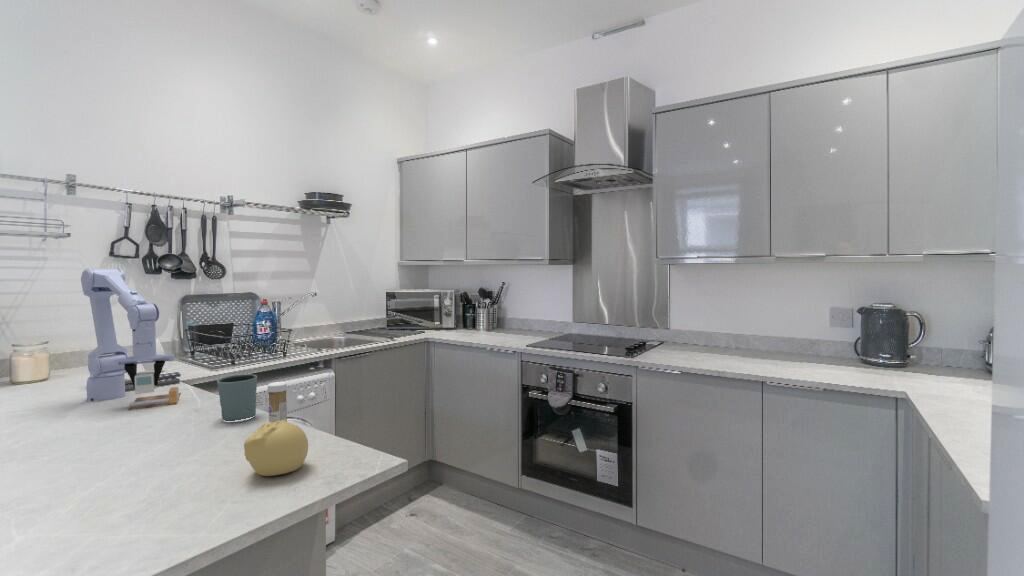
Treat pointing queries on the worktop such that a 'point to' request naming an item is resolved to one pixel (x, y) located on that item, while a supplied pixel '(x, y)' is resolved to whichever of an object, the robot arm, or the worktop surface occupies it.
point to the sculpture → (276, 448)
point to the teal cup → (237, 396)
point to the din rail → (171, 400)
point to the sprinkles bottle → (277, 401)
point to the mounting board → (152, 399)
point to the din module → (144, 382)
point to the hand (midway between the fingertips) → (146, 386)
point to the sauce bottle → (158, 352)
